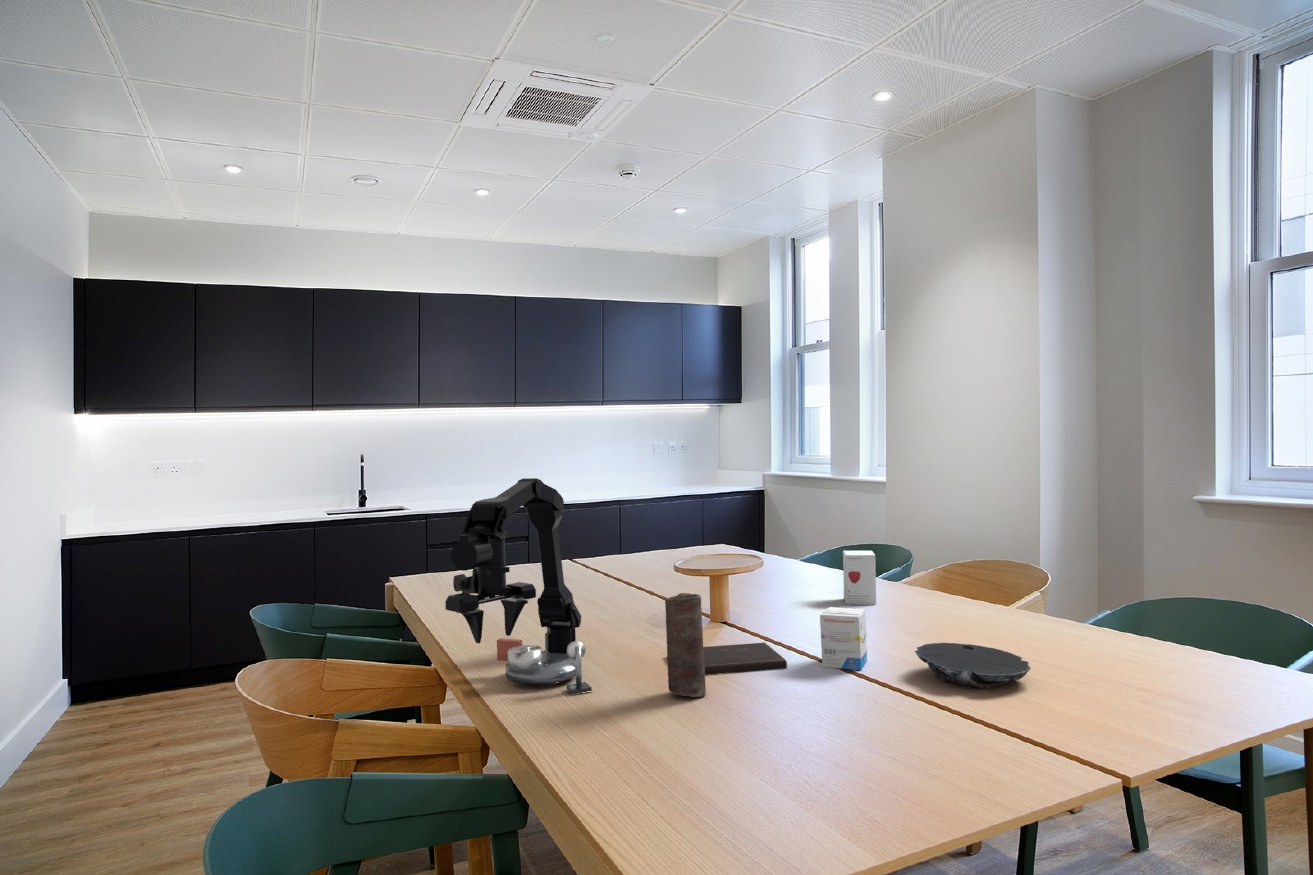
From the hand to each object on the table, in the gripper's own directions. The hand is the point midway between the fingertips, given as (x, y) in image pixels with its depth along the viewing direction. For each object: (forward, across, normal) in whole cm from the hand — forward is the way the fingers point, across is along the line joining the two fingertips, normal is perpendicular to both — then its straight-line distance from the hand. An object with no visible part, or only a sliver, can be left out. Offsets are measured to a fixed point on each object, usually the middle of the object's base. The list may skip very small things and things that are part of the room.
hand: (493, 639), depth 161 cm
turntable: (+10, -13, 0) cm, 16 cm away
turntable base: (+11, -13, 0) cm, 17 cm away
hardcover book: (+12, -46, +24) cm, 53 cm away
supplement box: (+11, -121, +18) cm, 122 cm away
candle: (+11, -23, +32) cm, 41 cm away
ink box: (+11, -60, +46) cm, 77 cm away
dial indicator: (+11, -12, +12) cm, 20 cm away
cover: (+8, -8, 0) cm, 11 cm away
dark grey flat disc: (+11, -66, +72) cm, 98 cm away
